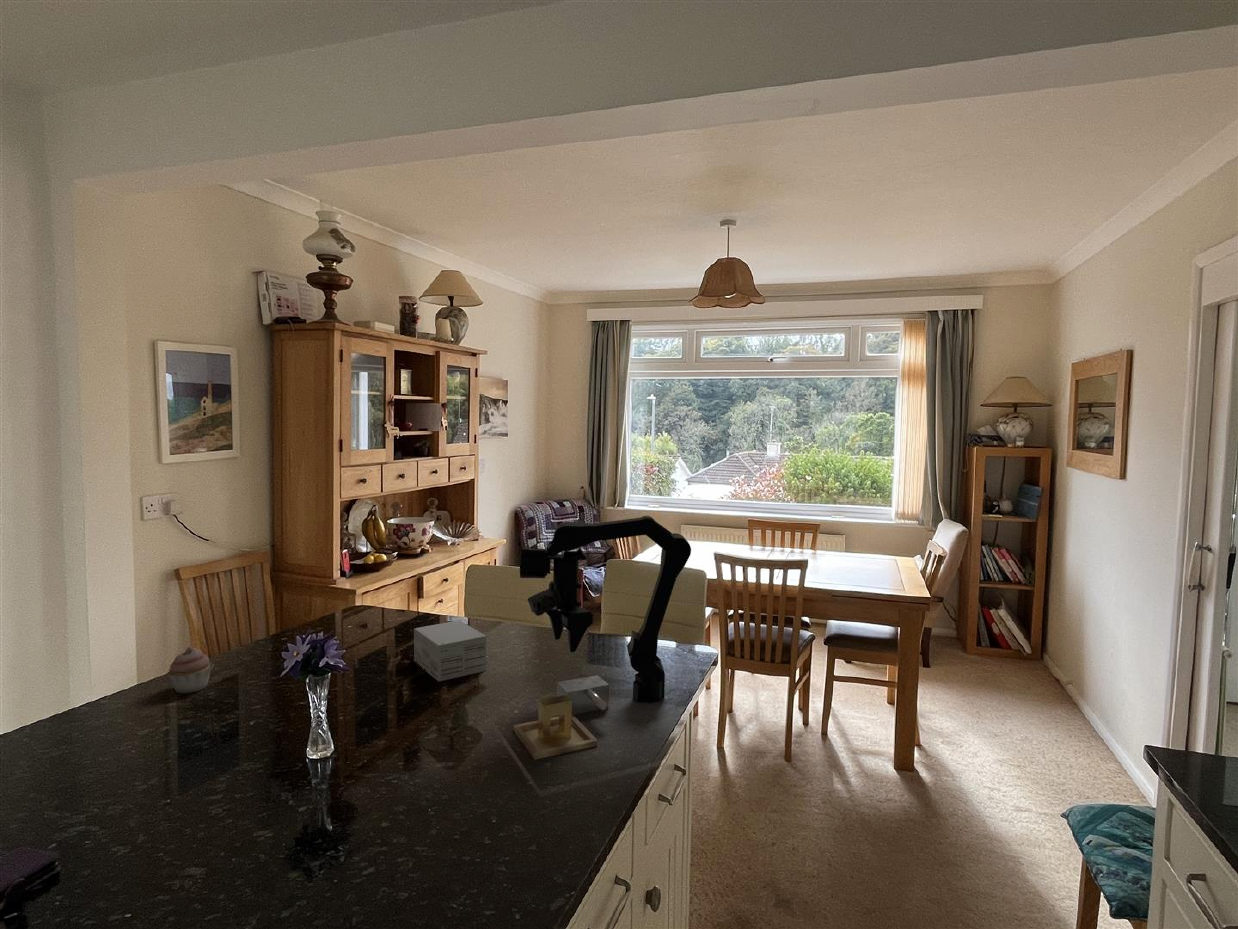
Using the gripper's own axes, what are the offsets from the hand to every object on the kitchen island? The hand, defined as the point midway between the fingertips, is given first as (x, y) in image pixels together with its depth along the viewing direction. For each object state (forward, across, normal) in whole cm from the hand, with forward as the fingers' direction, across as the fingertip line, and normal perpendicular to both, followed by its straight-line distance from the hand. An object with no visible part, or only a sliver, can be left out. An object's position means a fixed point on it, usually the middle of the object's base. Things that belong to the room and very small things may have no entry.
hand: (564, 645), depth 152 cm
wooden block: (+12, +17, -9) cm, 23 cm away
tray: (+13, +17, -9) cm, 23 cm away
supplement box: (+14, -32, -19) cm, 40 cm away
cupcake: (+13, -42, -77) cm, 89 cm away
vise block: (+13, +10, +2) cm, 16 cm away
